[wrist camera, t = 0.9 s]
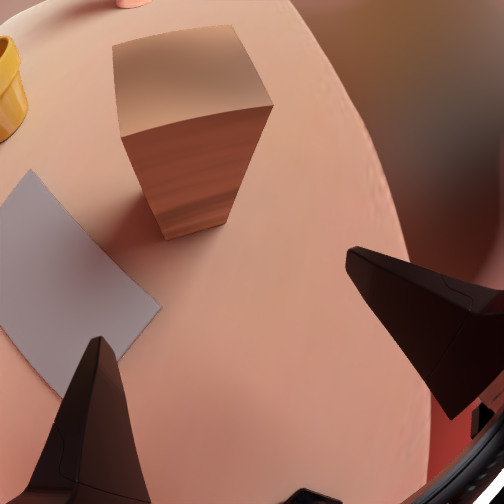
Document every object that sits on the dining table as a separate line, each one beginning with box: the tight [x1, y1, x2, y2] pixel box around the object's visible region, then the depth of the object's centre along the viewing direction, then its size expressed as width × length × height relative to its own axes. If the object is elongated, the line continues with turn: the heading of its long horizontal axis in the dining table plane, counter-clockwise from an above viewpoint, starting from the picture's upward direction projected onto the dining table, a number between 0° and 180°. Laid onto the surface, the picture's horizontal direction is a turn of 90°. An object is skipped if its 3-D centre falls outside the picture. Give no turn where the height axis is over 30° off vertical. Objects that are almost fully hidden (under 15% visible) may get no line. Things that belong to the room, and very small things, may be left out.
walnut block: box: [112, 25, 274, 241], centre depth 15 cm, size 5×5×15 cm
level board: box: [0, 169, 162, 398], centre depth 19 cm, size 18×12×1 cm, turn 51°
